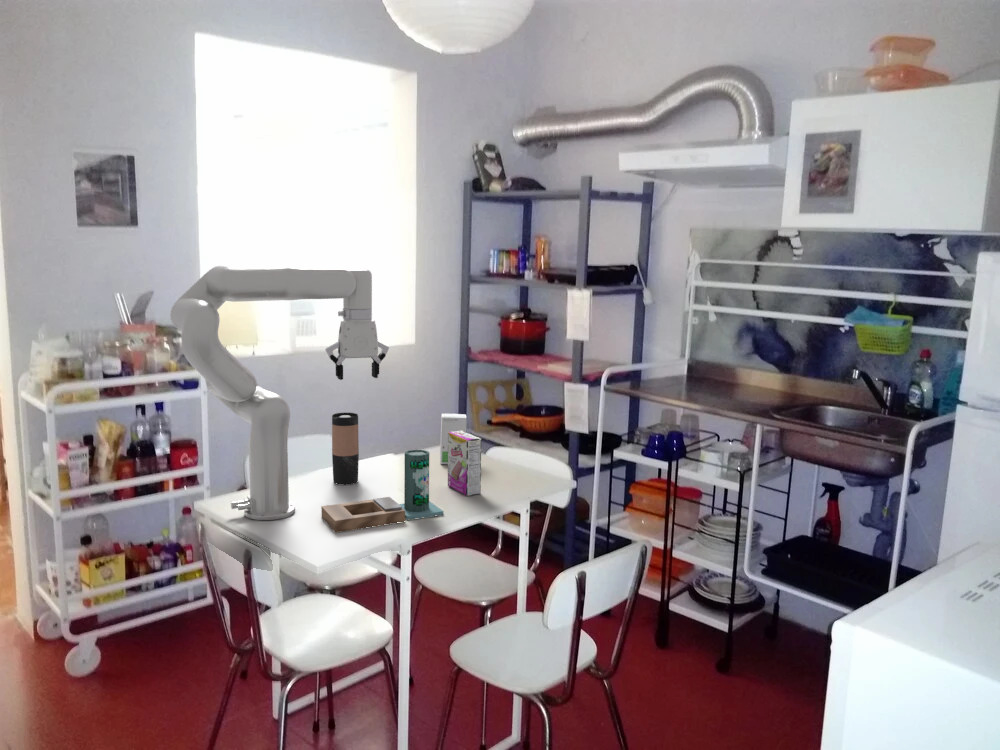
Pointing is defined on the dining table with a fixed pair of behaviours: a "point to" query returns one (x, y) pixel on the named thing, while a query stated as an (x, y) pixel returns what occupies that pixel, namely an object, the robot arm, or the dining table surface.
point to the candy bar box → (464, 462)
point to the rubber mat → (423, 512)
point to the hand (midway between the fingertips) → (357, 378)
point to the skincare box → (448, 425)
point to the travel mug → (345, 448)
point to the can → (416, 481)
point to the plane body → (362, 514)
